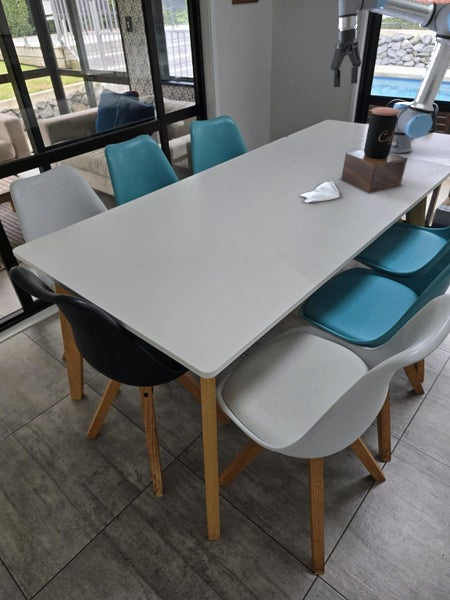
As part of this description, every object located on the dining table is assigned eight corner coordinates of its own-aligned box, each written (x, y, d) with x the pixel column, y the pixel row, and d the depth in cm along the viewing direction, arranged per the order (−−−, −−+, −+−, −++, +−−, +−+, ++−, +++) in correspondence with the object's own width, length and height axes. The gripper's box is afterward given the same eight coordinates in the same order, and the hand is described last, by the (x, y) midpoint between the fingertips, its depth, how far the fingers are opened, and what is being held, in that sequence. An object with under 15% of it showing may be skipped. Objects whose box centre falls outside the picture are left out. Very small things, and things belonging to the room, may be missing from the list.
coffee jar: (375, 160, 170) (385, 114, 160) (357, 153, 178) (366, 108, 167) (394, 156, 174) (405, 111, 163) (376, 150, 182) (385, 106, 171)
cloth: (321, 207, 162) (322, 202, 161) (292, 198, 170) (293, 193, 168) (354, 189, 177) (355, 184, 176) (327, 181, 185) (328, 176, 183)
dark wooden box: (371, 172, 193) (377, 146, 186) (400, 185, 180) (407, 158, 173) (341, 179, 186) (345, 152, 179) (368, 193, 174) (374, 164, 166)
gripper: (355, 29, 184) (353, 82, 195) (322, 32, 171) (322, 89, 181) (371, 26, 179) (368, 81, 190) (338, 29, 166) (336, 88, 176)
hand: (345, 85), depth 185 cm, fingers open, 13 cm apart
